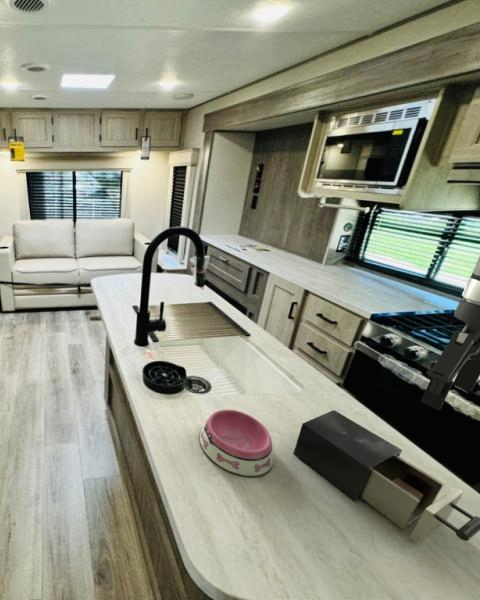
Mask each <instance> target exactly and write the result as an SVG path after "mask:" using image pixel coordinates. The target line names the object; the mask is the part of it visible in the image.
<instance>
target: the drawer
mask: <svg viewBox="0 0 480 600" xmlns="http://www.w3.org/2000/svg"><path fill="white" fill-rule="evenodd" d="M396 478H399V479H401V480H402V481H404V482H405V483H407V484H408V485H410V486H411V487H413V488H415V489H416V490H418V491H419V492H421V493H422V494H423V497H422V499H421V500H419V499H417V498H416V497H414V496H413V495H411V494H410V493H408V492H407V491H405V490H404V489H402V488H401V487H399V486H398V485H396V484H395V483H393V482H392V481H393V480H395V479H396ZM444 486H445V483H444V482H443V481H440V480H439V479H437V478H436V477H434V476H432V475H431V474H429V473H427V472H425V471H424V470H422V469H421V468H419V467H417V466H416V465H414V464H412V463H411V462H409V461H407V460H406V459H404V458H403V457H401V456H397V455H396V456H394V457H392V458H390V459H389V460H387V461H385V462H383V463H382V464H380V465H378V466H376V467H375V468H373V469H371V470H370V472H369V474H368V477H367V479H366V481H365V483H364V486H363V488H362V490H361V492H360V495H359V496H360V497H361V499H363V500H364V501H365V502H366V503H368V504H369V506H372V507H373V508H374V509H375V510H377V511H378V512H379V513H381V514H382V515H383V516H384V517H386V518H387V519H388V520H390V521H391V522H393V523H394V524H396V525H397V526H398V527H399V528H400V529H402V530H404V529H406V528H408V526H410V525H411V524H412V523H415V522H416V521H417V520H418V521H417V522H416V525H415V526H414V528H413V530H412V532H411V533H410V535H409V537H408V539H409V540H411V541H412V542H413V543H414V544H416V545H417V544H418V543H420V542H421V541H422V540H424V539H425V538H426V537H428V536H429V535H430V534H432V533H433V532H434V531H435V530H437V529H438V528H439V527H440V526H442V525H444V526H446V527H447V528H448V529H450V530H451V531H452V532H454V533H455V535H456V537H457V538H458V539H460V540H462V541H464V542H468V541H469V540H470V539H472V538H473V537H474V536H475V535H476V534H478V533H479V532H480V516H476V515H475V516H474V515H472V514H471V513H469V512H468V511H466V510H465V509H463V508H461V507H459V506H458V505H457V504H458V503H459V501H460V499H461V497H462V496H463V494H464V493H465V492H464V491H462V490H461V489H459V488H457V487H456V486H455V487H454V488H452V489H451V490H449V491H448V492H447V493H445V494H444V495H443V496H441V497H439V498H438V495H440V492H441V491H442V489H443V487H444ZM437 498H438V499H437ZM417 505H418V506H417ZM416 507H417V508H416ZM454 510H456V511H457V512H459V513H460V514H462V515H463V516H465V517H467V518H468V519H469V520H468V521H467V522H466V523H464V524H463V525H462V526H460V528H457V527H456V526H455V525H453V524H451V523H450V522H449V521H448V519H449V517H450V516H451V514H452V513H453V511H454Z"/></svg>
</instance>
